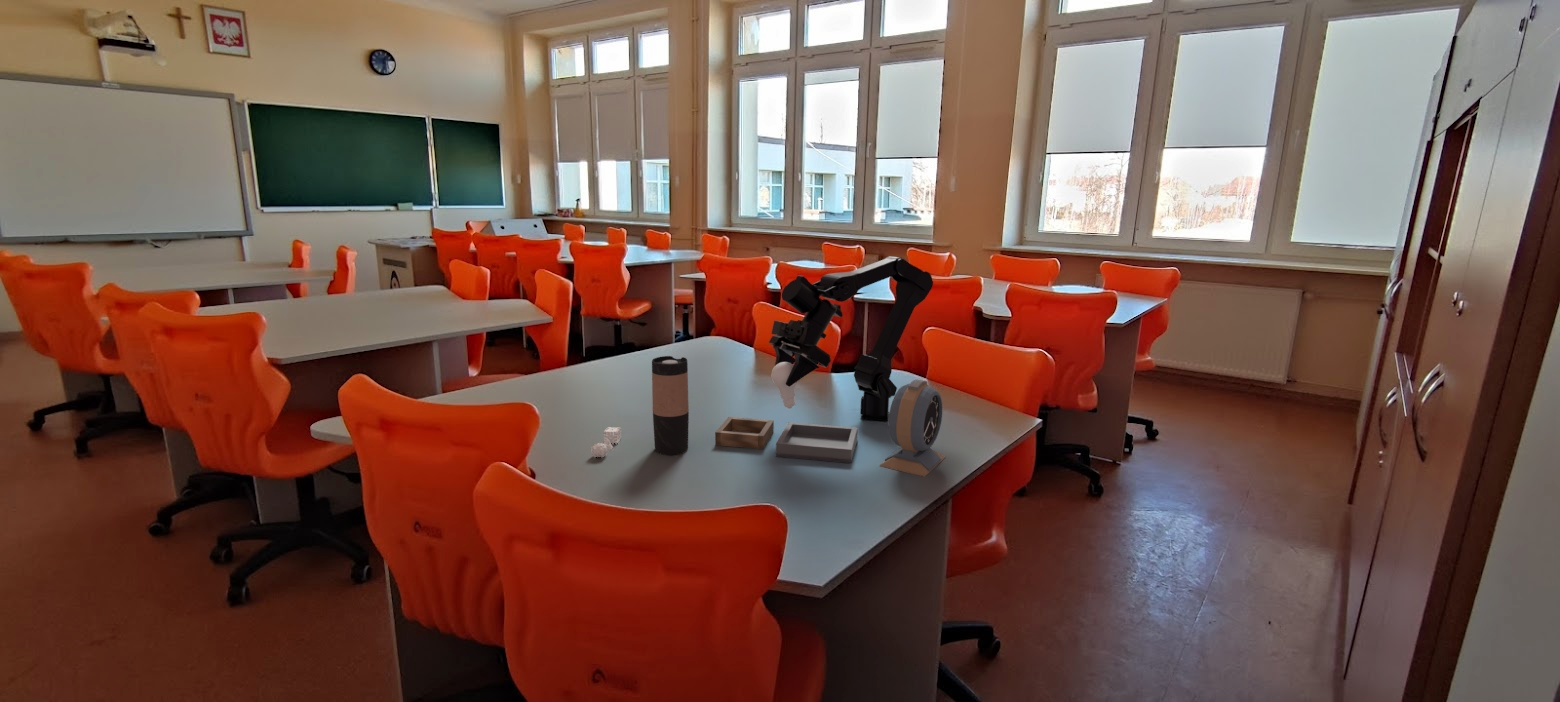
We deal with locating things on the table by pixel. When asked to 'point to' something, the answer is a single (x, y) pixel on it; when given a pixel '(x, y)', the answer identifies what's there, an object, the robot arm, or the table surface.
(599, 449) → the game pieces
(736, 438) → the socket block
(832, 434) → the tray
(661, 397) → the travel mug
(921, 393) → the alarm clock
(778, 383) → the lightbulb
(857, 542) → the table surface
